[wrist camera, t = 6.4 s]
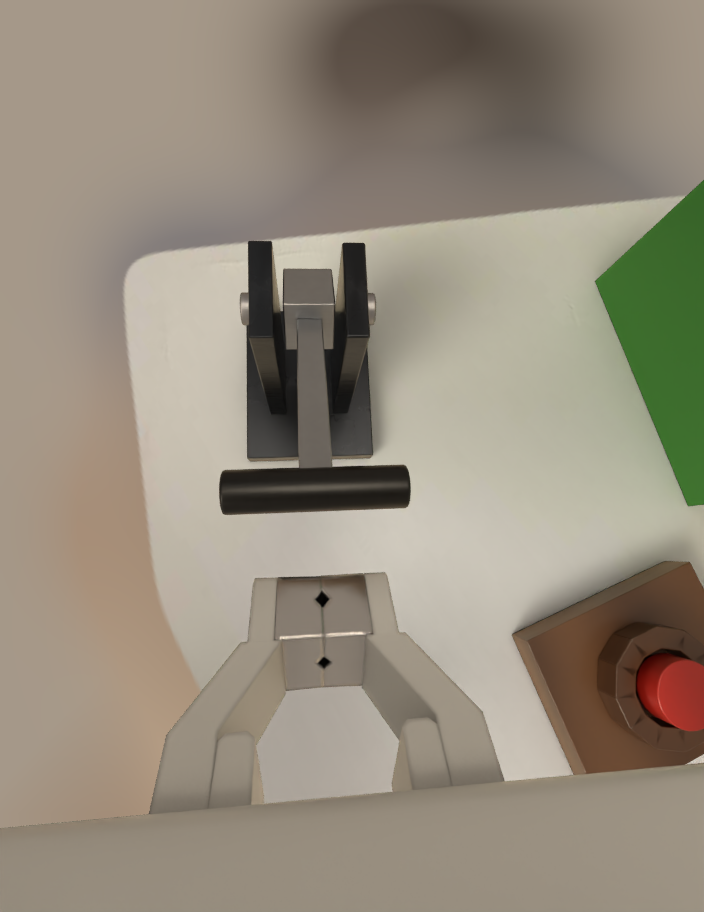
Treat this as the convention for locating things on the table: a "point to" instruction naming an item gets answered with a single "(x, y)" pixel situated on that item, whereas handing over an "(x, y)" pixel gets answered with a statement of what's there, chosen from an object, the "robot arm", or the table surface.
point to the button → (673, 690)
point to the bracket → (277, 366)
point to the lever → (312, 426)
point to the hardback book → (667, 332)
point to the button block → (617, 669)
